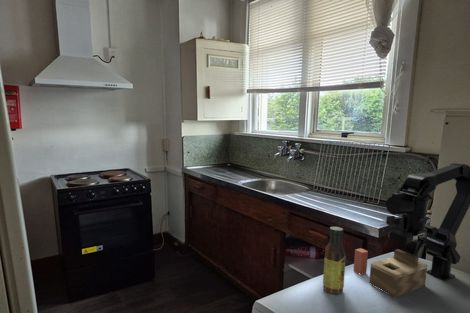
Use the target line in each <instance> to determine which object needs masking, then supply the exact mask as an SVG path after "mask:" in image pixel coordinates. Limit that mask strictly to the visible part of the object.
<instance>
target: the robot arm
mask: <svg viewBox="0 0 470 313" xmlns="http://www.w3.org/2000/svg"><path fill="white" fill-rule="evenodd" d="M451 180H454V181H455V184H454V186H455V189H456V194H455V195H454V197H453V200H452V201H451V204H450V205H449V207H448V209H447V212H446V214H445V215H444V217H443V219H442V222H441V224H440V225H439V227H438V228H437V227H436V226H433V225H430V224H426V221H429V216H427V208H428V200H433V197H432V195H430V193H432V192H433V191H435V190H436V188H437V186H438V185H441V184H444V183H446V182H449V181H451ZM385 207H386V210H387V212H388V213H390V215H388V216H386V220H385V223H386V225H387V226H389V228H390V229H391V228H392V229H391V230H389V231H388V239H391V240H393V241H396V242H399V243H402V244H404V245H405V247H406V250H407V253H410V254H412V255H415V256H417V254H418V252H419V251H420V250H421V249H422V247H423V246H425V252H426V254H427V255H429V256H431V257H432V261H431V269H427V273H426V274H428V275H431V276H434V277H437V279H438V278H439V279H441V280H444V281H448V280H450V279H453V278H455V277H456V275H455V274H453V273H452V264H453V265H457V264H458V263H460V261H461V255H460V254H459V253H458V251H457V249H456V248H457V245H458V244H457V239H456V238H457V237H456V236H457V235H456V234H457V233H458V230H459V229H460V227H461V225H462V223H463V220H464V218H465V217H466V214H467V212H468V210H469V208H470V166H469V165H468V164H466V163H458V162H452V163H450V164H449V165H447V166H443V167H440V168H438V169H435V170H432V171H429V172H418V173H410V174H408V175H407V176H406V178H405V180H404V181H403V182H402V184H401V186H400V187H399V189H398V190H397V192H392V193H391V196H390V197H388V198H387V200H386V201H385ZM391 214H392V215H391ZM395 215H401V216H397V217H396V216H395ZM398 227H399V228H398ZM393 228H394V229H393ZM424 234H427V236H426V237H425V236H424Z"/></svg>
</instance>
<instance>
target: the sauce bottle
mask: <svg viewBox="0 0 470 313" xmlns="http://www.w3.org/2000/svg"><path fill="white" fill-rule="evenodd" d="M343 235H344V228H342V227H340V226H330V227H329V242H328V244H327V245H326V246H325V249H324V258H323V260H324V262H323V273H322V275H323V277H322V284H323V285H322V286H323V287H322V288H323V289H324V291H325V292H327V293H329V294H332V295H340V294H342V293H343V292H344V287H345V273H346V271H345V270H346V251H345V247H344V245H343Z"/></svg>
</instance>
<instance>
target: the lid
mask: <svg viewBox="0 0 470 313" xmlns="http://www.w3.org/2000/svg"><path fill="white" fill-rule="evenodd" d="M419 259H420V258H419V256H417V255H412V254H410V253H408V251H404V250H402V249H398V248H397V249H394V253H393V256H391V257H387V258H384V259H379V260H377V261H374V262H370V267H371V266H372V267H374V268H376V269H378V270H380V271H382V272H384V273H386V274H388V275H390V276H392V277H394V278H399V277H402V276H405V275H408V274H411V273H414V272H417V271H420V270H423V269H426V268H427V269H428V264H426V263H424V262H420V261H419ZM386 266H391V267H393V268H396V270H391V269H389V268H387V267H386Z"/></svg>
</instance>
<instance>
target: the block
mask: <svg viewBox="0 0 470 313" xmlns="http://www.w3.org/2000/svg"><path fill="white" fill-rule="evenodd" d="M368 256H369V250H366V249H364V248H361V247H360V248H357V249H354V257H353V258H354V259H353V272H355V273H356V272H357V273H356V274H358V273H360V274H361V275H363V274H362V273H365V274H367V272H368V271H367V269H368V258H369V257H368ZM360 274H359V275H360Z"/></svg>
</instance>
